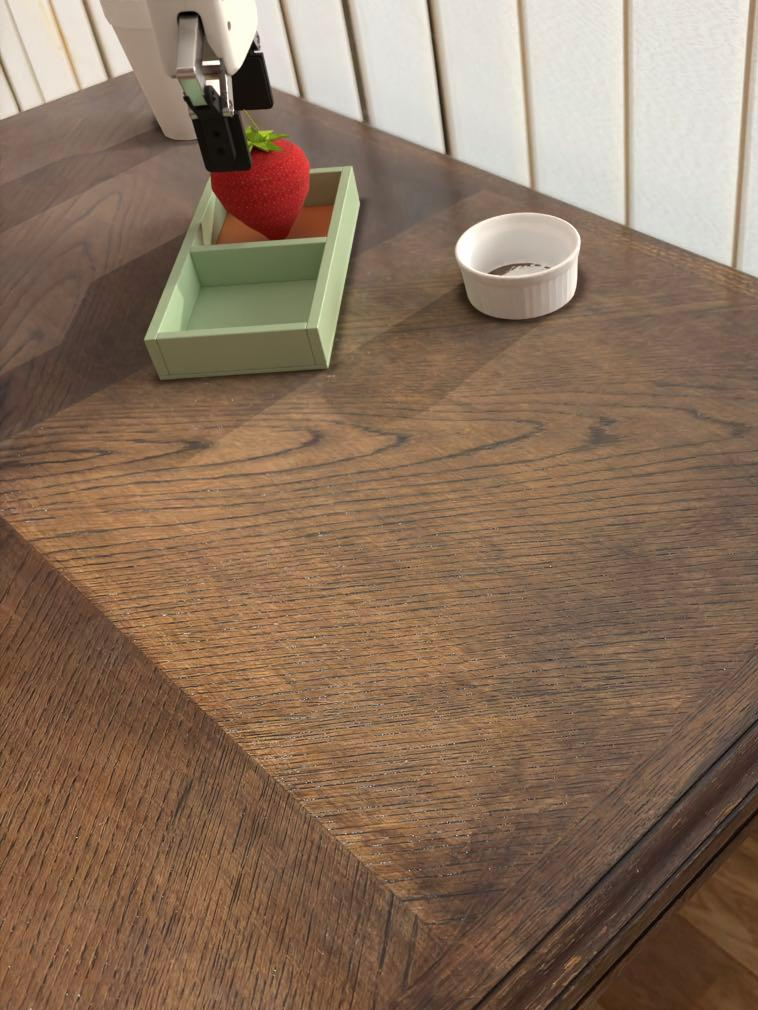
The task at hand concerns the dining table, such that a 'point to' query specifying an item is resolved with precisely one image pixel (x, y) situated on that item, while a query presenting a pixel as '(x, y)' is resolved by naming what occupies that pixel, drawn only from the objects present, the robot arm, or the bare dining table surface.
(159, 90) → the foam cup
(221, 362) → the tray
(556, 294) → the ramekin
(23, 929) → the dining table surface
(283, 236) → the strawberry
